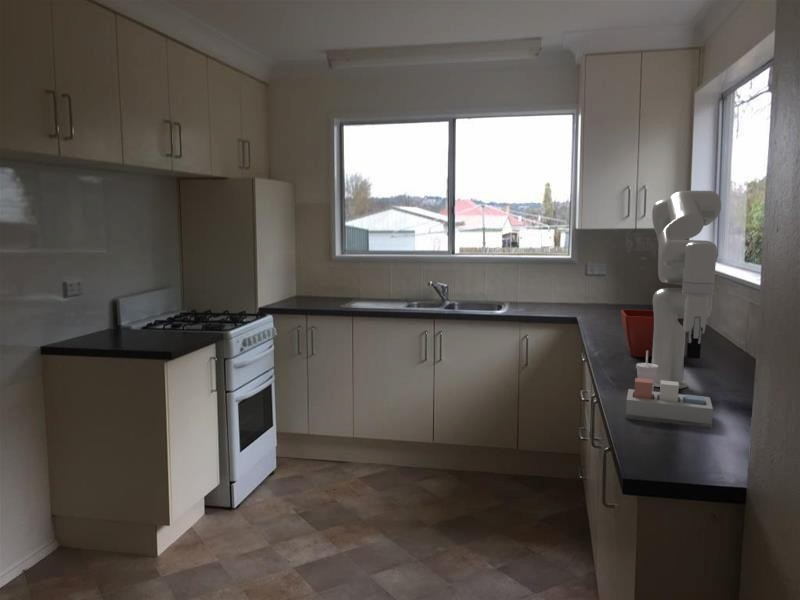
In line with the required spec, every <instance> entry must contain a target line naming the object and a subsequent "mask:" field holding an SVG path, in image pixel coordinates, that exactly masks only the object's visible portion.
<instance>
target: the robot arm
mask: <svg viewBox="0 0 800 600" xmlns="http://www.w3.org/2000/svg"><path fill="white" fill-rule="evenodd" d="M721 209H722V201H721V198H720V196H719V193H717V192H716V191H713V190H679V191H677V192H674V193H673V194H672V195H671V196H670V197H669V198H666V199H661V200H658V201H656V202H655V203H654V205H653V207H652V211H651V212H652V214H651V218H652V225H653V229H654V232H655V234H656V239H657V241H658V242H657V243H658V254H657V255H658V261H657V262H658V263H657V270H658V271H657V274H658V279H659V280H660V282H661V283H663V284H667V285H678V286H679V285H681V287H682V288H681V287H664V288H660V289H658V290H656V291H655V292H654V294H653V296H652V310H653V311H654V336H653V352H652V358H651V364H655V365H658V370H657V373H656V378H655V383H654V388H655V387H656V388H659V387H660V381H661V380H664V381H674V382H678V383H679V389H685V388H688V382H687V381H686V380H684V379H683V374H684V362H685V361H684V360H685V349H686V358H688V359H695V360H697V359H698V360H699V359H700V358H701V351H702V350H701V349H702V348H701V347H702V344H701V340H702V339H701V337H702V335H703V334H705V331H706V327H707V326H706V325H707V318H709V317H710V315H711V313H712V311H713V296H714V294H715V292H714V290H715V279H716V278H715V277H716V266H717V265H716V264H717V260H718V255H719V254H718V252H719V251H718V247H717V245H716V244H715V243H714V242H712V241H710V240H699V239H698V240H693V239H692V238H694V237H696V236H698V235H699V234H701V232H702V231H703V229H704V227H705V226H709V225H710V224H712V223H713V222H714V221H715V220H716V219H717V218H718V217H719V215H720V213H721ZM677 319H678V320H677ZM679 319H683V321H682V324H681V323H680V322H679ZM686 333H688V336H687V337H688V338H687V343H686ZM685 345H686V346H685ZM685 347H686V348H685Z"/></svg>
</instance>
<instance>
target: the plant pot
mask: <svg viewBox="0 0 800 600" xmlns="http://www.w3.org/2000/svg"><path fill="white" fill-rule="evenodd" d="M620 312H621V321H622V328H623V332H624V333H623V334H624V337H625V343H626V346H627V349H628V353H629V354H630V356H631V357H634V358H646V351H648V358H649V357H652V352H653V336H654V311H653V309H651V310H650V309H625V308H624V309H621V311H620ZM677 320H678V321H679V319H677Z"/></svg>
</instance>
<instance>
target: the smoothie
mask: <svg viewBox="0 0 800 600" xmlns="http://www.w3.org/2000/svg"><path fill="white" fill-rule="evenodd" d="M635 369H636V374H637V378H643V379H653V385H652V391H654V388H655V386H654V383H655V378H656V373H657V370H658V365H655V364H652V362H651V363H649V357H648V351H646V357H645V362H638V363H636V365H635Z"/></svg>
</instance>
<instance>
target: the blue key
mask: <svg viewBox="0 0 800 600" xmlns="http://www.w3.org/2000/svg"><path fill="white" fill-rule="evenodd" d="M684 395H685V403H690V404H699V405H705V399H704V397H705V396H704V395H694V394H684Z"/></svg>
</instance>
